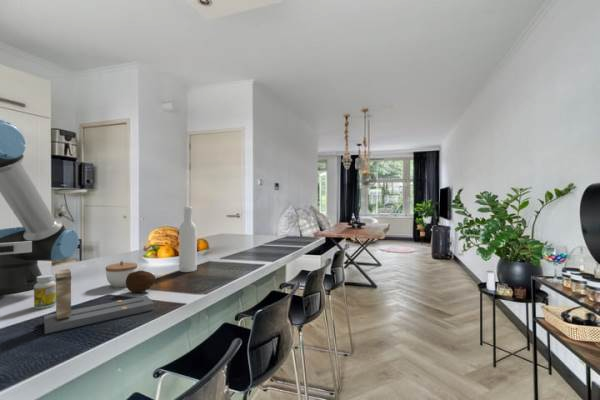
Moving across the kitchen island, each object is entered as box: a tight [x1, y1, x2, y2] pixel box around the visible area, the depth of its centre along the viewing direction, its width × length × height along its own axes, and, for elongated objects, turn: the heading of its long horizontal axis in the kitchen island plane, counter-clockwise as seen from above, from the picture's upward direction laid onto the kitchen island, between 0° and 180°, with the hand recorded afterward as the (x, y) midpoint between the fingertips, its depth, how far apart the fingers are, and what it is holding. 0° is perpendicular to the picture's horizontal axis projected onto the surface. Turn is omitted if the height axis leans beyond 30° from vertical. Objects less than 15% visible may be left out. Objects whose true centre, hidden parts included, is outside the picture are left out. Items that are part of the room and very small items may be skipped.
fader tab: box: [54, 268, 72, 319], centre depth 83 cm, size 3×5×12 cm, turn 41°
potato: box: [126, 270, 157, 293], centre depth 111 cm, size 7×10×8 cm
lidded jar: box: [105, 260, 138, 288], centre depth 119 cm, size 11×11×9 cm
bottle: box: [178, 206, 198, 273], centre depth 143 cm, size 8×8×30 cm
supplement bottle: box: [33, 274, 56, 310], centre depth 96 cm, size 5×5×10 cm
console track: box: [43, 295, 155, 335], centre depth 89 cm, size 26×9×2 cm, turn 131°
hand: (31, 246), depth 78 cm, fingers closed
